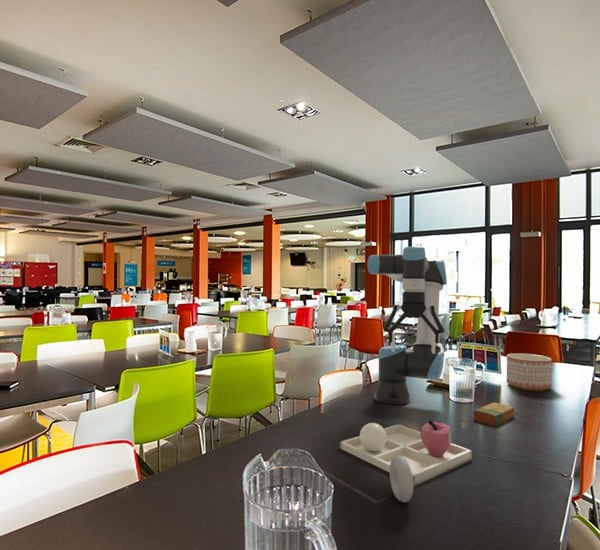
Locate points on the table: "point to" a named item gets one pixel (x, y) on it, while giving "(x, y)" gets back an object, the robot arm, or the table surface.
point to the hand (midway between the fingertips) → (413, 352)
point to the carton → (493, 413)
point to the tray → (408, 453)
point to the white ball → (373, 437)
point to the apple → (436, 438)
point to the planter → (529, 372)
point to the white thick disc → (401, 478)
